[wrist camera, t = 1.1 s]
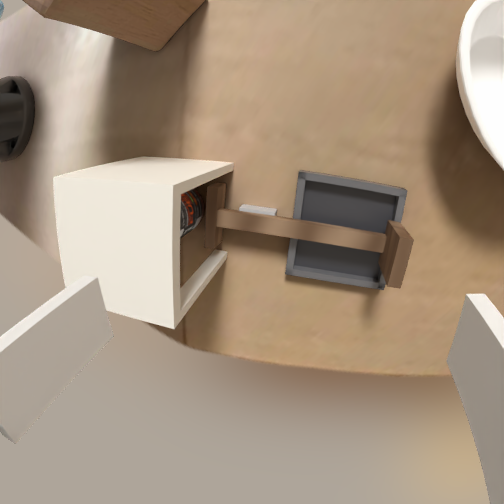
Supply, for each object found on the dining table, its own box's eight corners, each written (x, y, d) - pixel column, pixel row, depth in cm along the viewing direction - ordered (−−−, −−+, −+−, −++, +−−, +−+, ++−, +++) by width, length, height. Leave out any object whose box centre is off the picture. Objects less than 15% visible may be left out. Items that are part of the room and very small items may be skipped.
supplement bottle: (215, 213, 38) (175, 245, 28) (179, 237, 40) (134, 273, 30) (187, 172, 37) (138, 190, 27) (153, 199, 39) (100, 224, 29)
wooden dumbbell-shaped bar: (212, 239, 39) (189, 262, 32) (216, 182, 36) (191, 194, 30) (385, 267, 36) (397, 297, 29) (398, 210, 33) (416, 229, 26)
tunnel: (142, 243, 42) (67, 297, 27) (142, 156, 38) (53, 176, 23) (270, 265, 39) (238, 344, 25) (281, 168, 35) (252, 194, 20)
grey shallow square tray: (286, 269, 39) (285, 274, 38) (299, 169, 34) (298, 171, 33) (381, 284, 37) (383, 290, 36) (404, 188, 33) (407, 190, 31)
